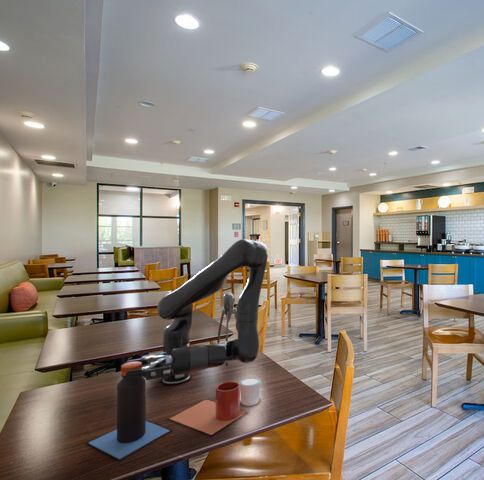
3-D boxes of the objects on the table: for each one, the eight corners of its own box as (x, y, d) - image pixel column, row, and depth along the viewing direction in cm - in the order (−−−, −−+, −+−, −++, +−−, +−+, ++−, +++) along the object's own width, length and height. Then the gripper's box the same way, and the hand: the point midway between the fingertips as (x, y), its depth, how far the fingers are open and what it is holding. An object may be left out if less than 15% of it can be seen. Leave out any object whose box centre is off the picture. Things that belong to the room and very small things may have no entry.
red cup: (210, 417, 106) (210, 388, 106) (227, 407, 112) (228, 379, 112) (227, 423, 103) (227, 393, 102) (244, 412, 109) (244, 384, 109)
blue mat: (88, 443, 92) (88, 442, 92) (139, 419, 105) (139, 418, 105) (119, 459, 86) (119, 458, 86) (170, 431, 98) (170, 430, 98)
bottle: (150, 433, 97) (150, 362, 96) (125, 446, 91) (125, 371, 90) (136, 427, 100) (136, 358, 100) (111, 439, 94) (111, 366, 94)
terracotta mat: (168, 419, 105) (168, 418, 105) (206, 400, 117) (206, 399, 117) (211, 435, 97) (211, 434, 97) (246, 413, 109) (246, 412, 109)
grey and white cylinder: (254, 408, 112) (255, 386, 112) (235, 405, 114) (235, 384, 113) (263, 398, 119) (264, 378, 119) (245, 396, 120) (245, 376, 120)
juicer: (242, 356, 159) (242, 291, 158) (226, 365, 148) (227, 295, 148) (224, 354, 162) (225, 290, 162) (208, 362, 152) (208, 294, 151)
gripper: (186, 340, 109) (126, 349, 101) (194, 354, 97) (126, 365, 89) (186, 364, 109) (126, 374, 101) (193, 380, 97) (125, 394, 89)
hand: (126, 370), depth 95 cm, fingers open, 8 cm apart
